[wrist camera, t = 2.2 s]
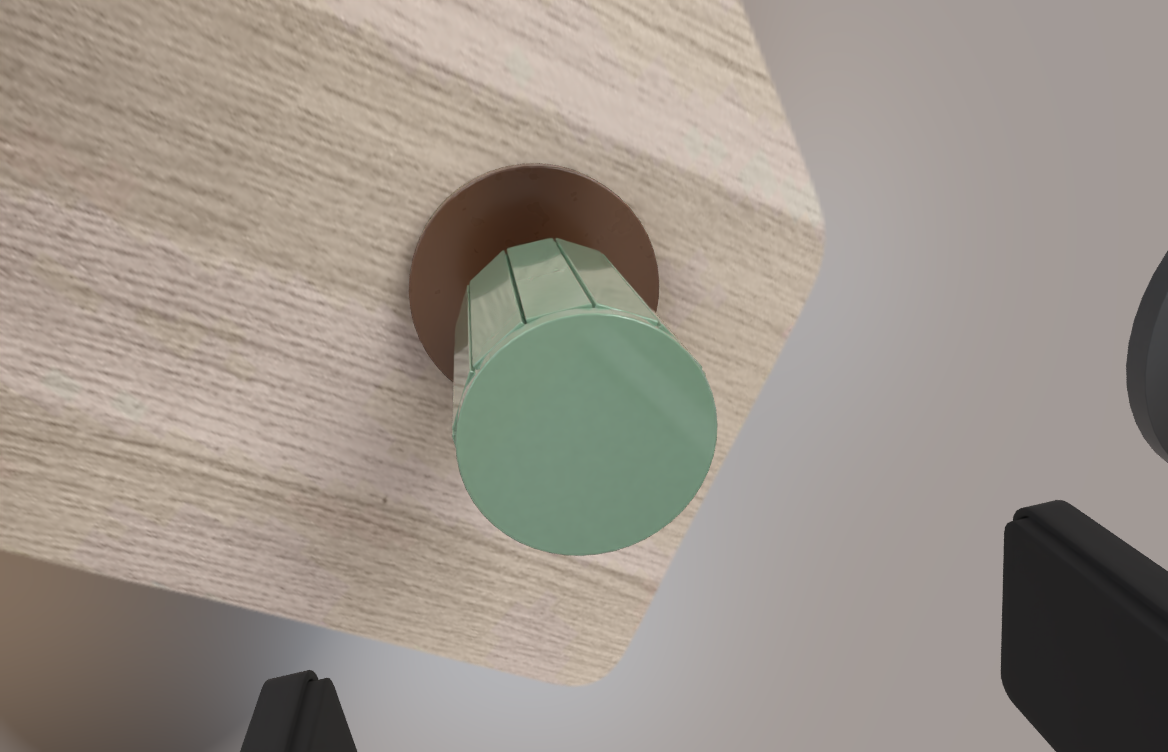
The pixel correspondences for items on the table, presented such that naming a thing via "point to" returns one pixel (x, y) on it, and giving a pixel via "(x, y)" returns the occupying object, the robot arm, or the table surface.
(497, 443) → the green cup
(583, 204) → the towel stand
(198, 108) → the table surface
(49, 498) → the table surface
